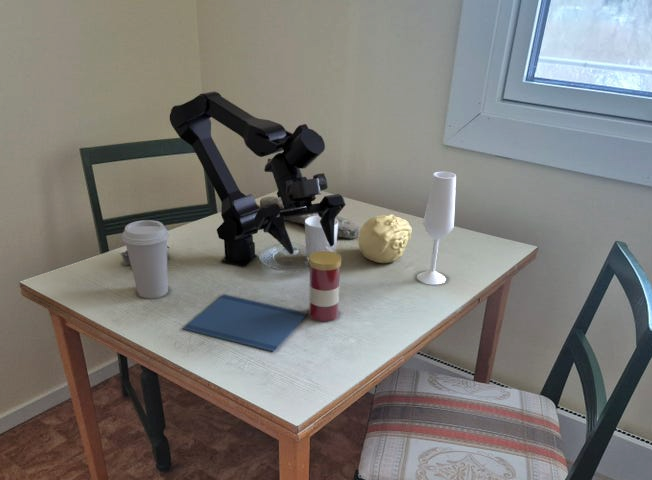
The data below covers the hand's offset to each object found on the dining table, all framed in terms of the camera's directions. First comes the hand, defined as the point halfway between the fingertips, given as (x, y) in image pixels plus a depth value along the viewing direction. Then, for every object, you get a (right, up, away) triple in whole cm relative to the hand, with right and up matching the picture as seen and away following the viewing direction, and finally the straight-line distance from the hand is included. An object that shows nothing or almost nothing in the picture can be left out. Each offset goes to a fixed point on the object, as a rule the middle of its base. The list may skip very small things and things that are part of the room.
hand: (312, 249), depth 131 cm
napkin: (-13, -15, -1) cm, 20 cm away
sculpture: (+17, +2, +27) cm, 32 cm away
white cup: (+2, +1, +25) cm, 25 cm away
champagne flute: (+28, -4, +17) cm, 33 cm away
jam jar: (+2, -13, +2) cm, 14 cm away
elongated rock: (-1, +15, +46) cm, 49 cm away
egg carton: (-40, +1, +24) cm, 46 cm away
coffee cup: (-35, -8, +10) cm, 37 cm away
